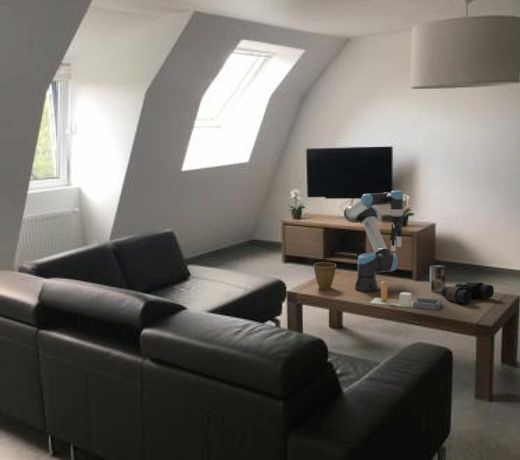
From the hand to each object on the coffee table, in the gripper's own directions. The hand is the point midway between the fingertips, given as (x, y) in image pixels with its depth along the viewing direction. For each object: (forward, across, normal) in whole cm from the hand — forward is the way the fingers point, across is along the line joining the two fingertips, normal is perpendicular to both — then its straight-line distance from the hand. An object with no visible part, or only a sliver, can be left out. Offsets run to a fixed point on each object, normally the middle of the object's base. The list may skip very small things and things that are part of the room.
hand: (396, 248), depth 390 cm
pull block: (+28, -24, -6) cm, 37 cm away
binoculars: (+29, +1, -42) cm, 51 cm away
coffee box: (+29, +15, -23) cm, 40 cm away
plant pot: (+29, -6, +46) cm, 55 cm away
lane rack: (+29, -24, -12) cm, 39 cm away
